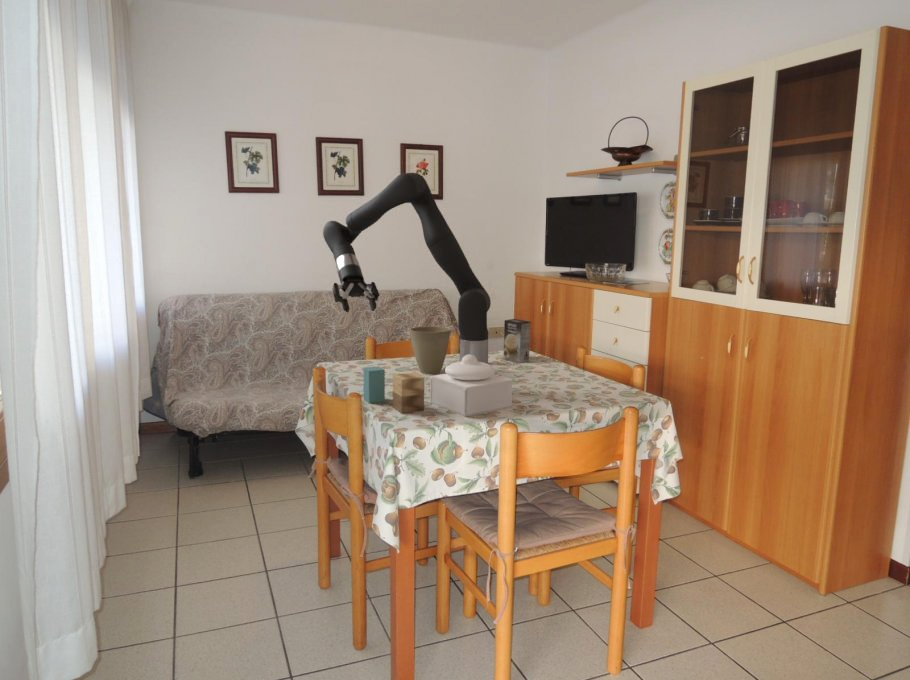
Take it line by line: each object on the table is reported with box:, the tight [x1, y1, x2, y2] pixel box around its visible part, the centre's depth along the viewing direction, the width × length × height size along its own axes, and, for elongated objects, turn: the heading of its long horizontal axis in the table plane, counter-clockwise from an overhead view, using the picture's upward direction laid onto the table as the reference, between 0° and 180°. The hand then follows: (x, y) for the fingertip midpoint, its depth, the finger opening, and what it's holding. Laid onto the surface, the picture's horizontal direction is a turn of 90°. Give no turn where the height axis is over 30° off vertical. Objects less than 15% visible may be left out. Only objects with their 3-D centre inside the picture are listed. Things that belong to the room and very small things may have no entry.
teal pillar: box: [363, 366, 386, 404], centre depth 205 cm, size 5×5×10 cm
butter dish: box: [429, 354, 514, 418], centre depth 200 cm, size 18×18×16 cm
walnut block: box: [392, 391, 425, 414], centre depth 196 cm, size 7×7×5 cm
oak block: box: [392, 372, 425, 397], centre depth 196 cm, size 7×7×5 cm
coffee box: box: [502, 318, 532, 364], centre depth 267 cm, size 9×6×16 cm
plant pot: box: [409, 325, 452, 375], centre depth 245 cm, size 15×15×16 cm
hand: (361, 310), depth 211 cm, fingers open, 8 cm apart
